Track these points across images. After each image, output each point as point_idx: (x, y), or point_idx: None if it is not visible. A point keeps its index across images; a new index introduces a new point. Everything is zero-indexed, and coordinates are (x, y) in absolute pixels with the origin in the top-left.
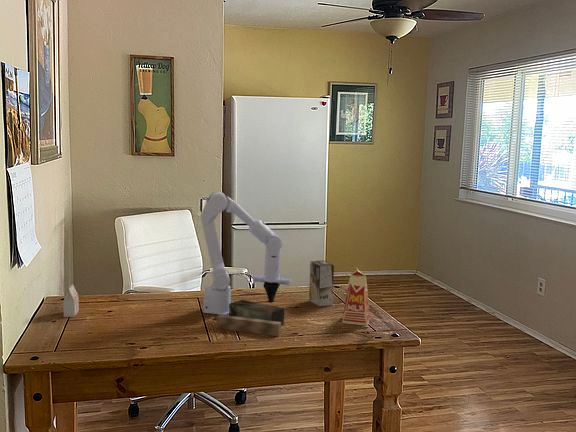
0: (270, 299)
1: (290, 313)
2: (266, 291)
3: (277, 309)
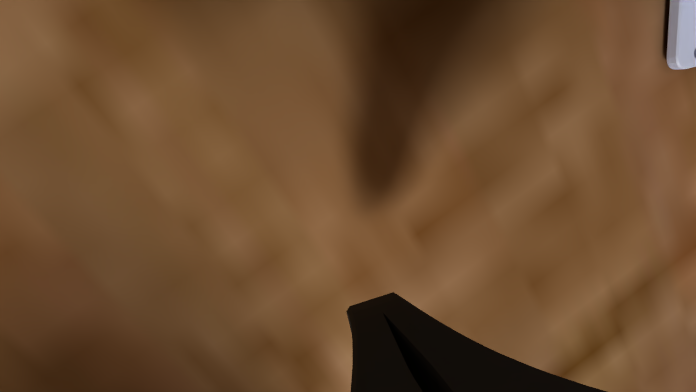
0: (382, 320)
1: (100, 328)
2: (535, 377)
3: None
